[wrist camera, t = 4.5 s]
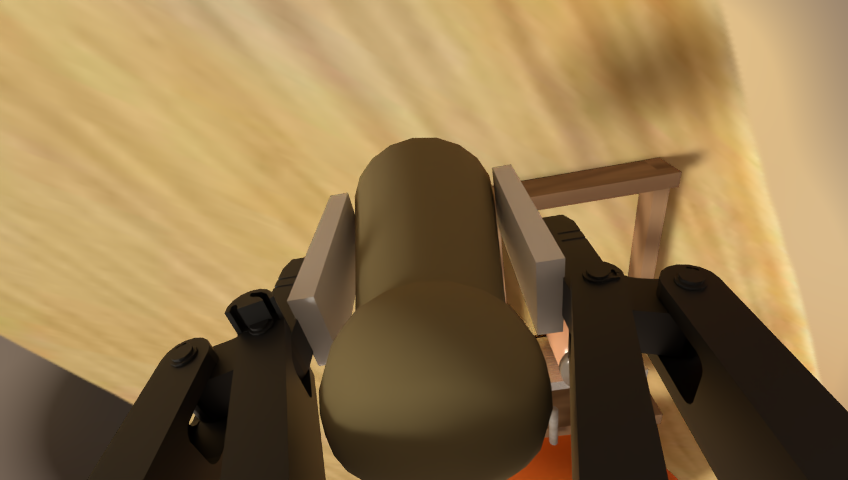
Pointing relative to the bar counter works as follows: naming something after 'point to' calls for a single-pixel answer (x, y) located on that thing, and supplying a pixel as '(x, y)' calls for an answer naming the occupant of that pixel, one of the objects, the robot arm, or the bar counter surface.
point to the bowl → (553, 462)
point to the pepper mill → (432, 331)
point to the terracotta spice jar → (561, 351)
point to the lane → (653, 192)
